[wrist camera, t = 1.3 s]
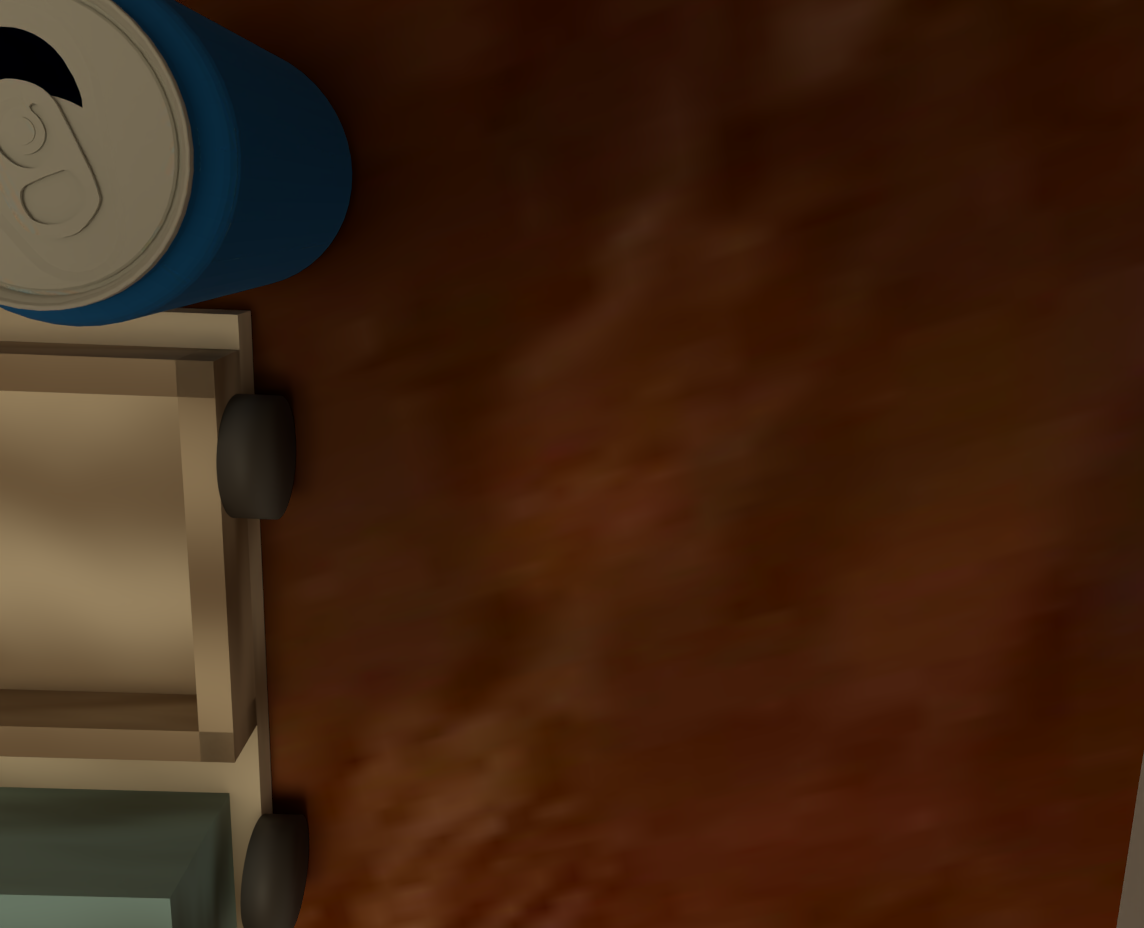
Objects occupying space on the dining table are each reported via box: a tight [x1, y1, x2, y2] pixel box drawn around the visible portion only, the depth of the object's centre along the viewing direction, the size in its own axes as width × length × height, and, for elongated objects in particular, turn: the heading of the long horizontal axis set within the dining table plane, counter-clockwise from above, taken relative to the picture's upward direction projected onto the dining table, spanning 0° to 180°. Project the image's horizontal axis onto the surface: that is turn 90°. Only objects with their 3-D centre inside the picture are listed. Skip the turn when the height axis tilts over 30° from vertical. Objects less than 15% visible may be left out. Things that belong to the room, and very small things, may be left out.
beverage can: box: [0, 0, 352, 327], centre depth 22 cm, size 6×6×12 cm
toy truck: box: [0, 307, 309, 928], centre depth 28 cm, size 22×14×6 cm, turn 178°
